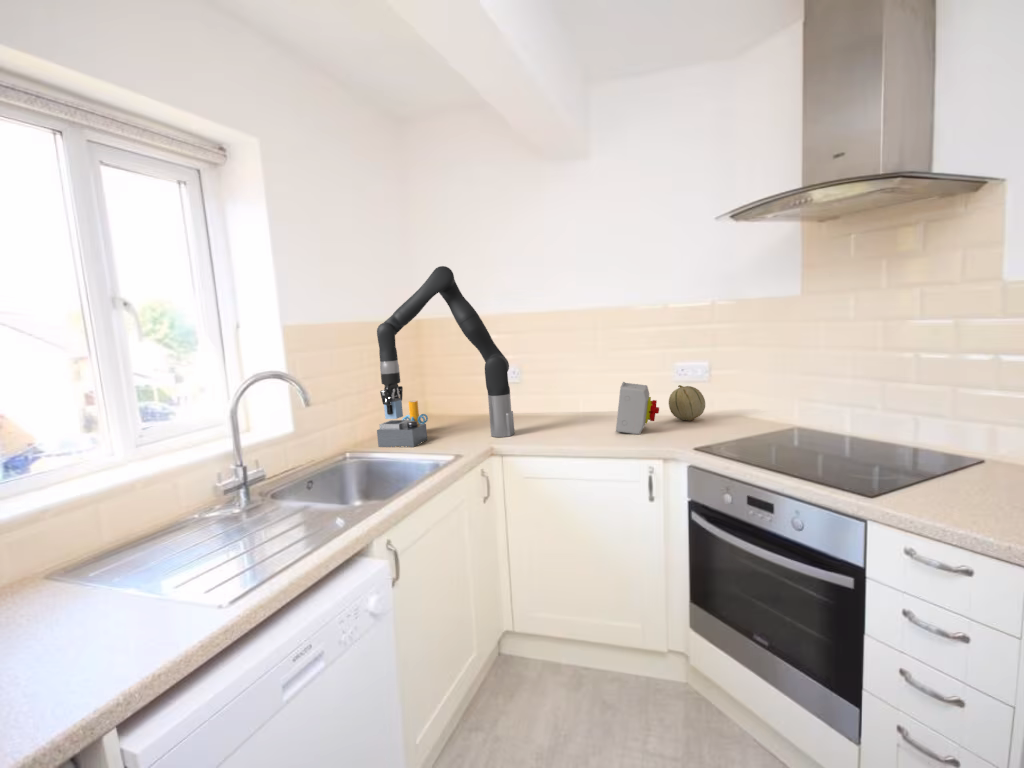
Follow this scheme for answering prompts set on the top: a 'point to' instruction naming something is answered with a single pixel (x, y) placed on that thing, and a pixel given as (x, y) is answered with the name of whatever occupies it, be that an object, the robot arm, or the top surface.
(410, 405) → the cylinder
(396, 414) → the grey lidded box
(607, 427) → the top surface
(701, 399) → the cantaloupe
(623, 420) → the electrical switch box
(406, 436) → the grey boxy piece
